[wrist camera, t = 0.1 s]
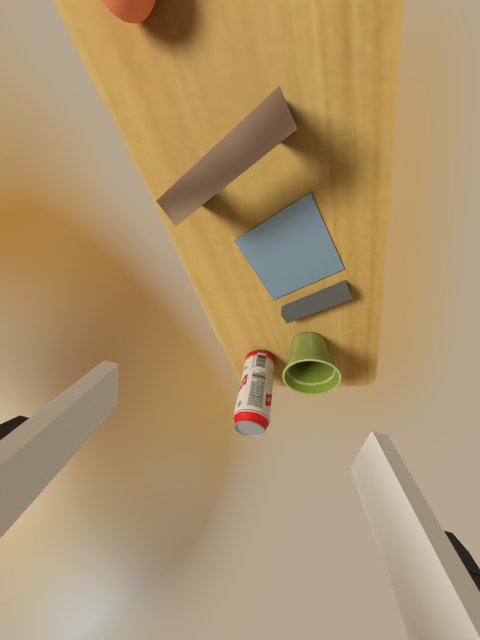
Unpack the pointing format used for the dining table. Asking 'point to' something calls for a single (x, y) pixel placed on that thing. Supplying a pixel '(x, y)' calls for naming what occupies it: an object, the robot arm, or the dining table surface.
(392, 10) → the dining table surface
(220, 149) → the bridge
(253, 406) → the beer can
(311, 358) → the plant pot
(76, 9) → the dining table surface
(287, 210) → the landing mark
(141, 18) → the ball
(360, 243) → the dining table surface
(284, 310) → the stopper
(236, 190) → the dining table surface
